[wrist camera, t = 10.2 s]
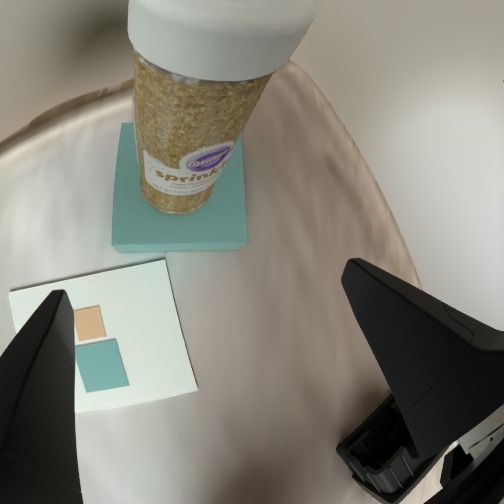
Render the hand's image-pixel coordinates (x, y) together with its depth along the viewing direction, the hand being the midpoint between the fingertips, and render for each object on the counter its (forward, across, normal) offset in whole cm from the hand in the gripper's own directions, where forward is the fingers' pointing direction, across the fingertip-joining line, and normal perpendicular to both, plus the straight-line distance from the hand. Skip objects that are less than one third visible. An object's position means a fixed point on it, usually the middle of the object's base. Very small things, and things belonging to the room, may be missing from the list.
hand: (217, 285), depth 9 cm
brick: (+13, 0, +3) cm, 13 cm away
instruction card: (+6, +7, +10) cm, 13 cm away
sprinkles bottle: (+11, 0, +1) cm, 11 cm away
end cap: (-3, -16, +20) cm, 25 cm away
